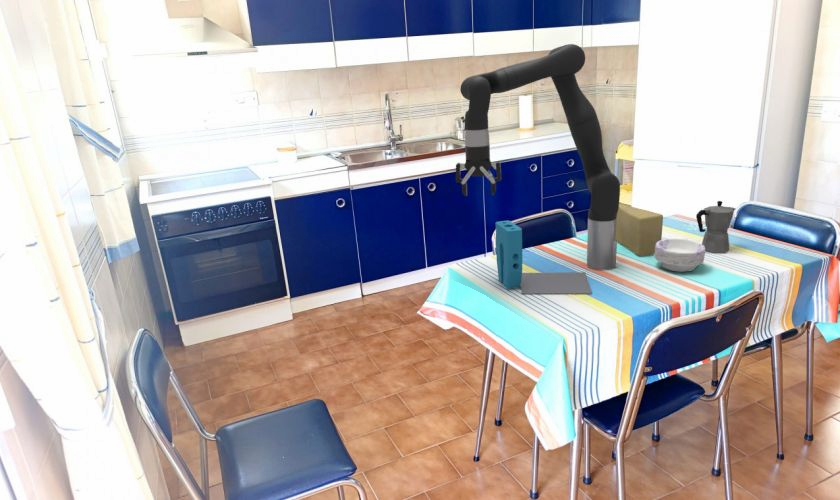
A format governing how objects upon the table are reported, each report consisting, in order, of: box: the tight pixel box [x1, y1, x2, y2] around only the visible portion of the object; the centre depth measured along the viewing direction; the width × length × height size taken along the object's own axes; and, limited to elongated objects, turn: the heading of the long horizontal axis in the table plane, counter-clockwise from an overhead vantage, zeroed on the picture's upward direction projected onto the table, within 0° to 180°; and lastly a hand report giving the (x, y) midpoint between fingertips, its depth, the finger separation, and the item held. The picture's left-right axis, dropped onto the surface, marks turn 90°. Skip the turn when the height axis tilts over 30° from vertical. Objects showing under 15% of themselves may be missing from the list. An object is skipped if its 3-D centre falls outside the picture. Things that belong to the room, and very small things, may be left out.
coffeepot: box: [695, 200, 736, 254], centre depth 199 cm, size 15×9×18 cm, turn 103°
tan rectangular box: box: [616, 202, 664, 257], centre depth 209 cm, size 22×10×15 cm, turn 17°
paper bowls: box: [654, 238, 706, 273], centre depth 188 cm, size 15×15×8 cm
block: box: [495, 219, 523, 290], centre depth 182 cm, size 12×5×20 cm, turn 12°
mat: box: [520, 271, 593, 295], centre depth 183 cm, size 22×18×1 cm
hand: (479, 195), depth 178 cm, fingers open, 8 cm apart
